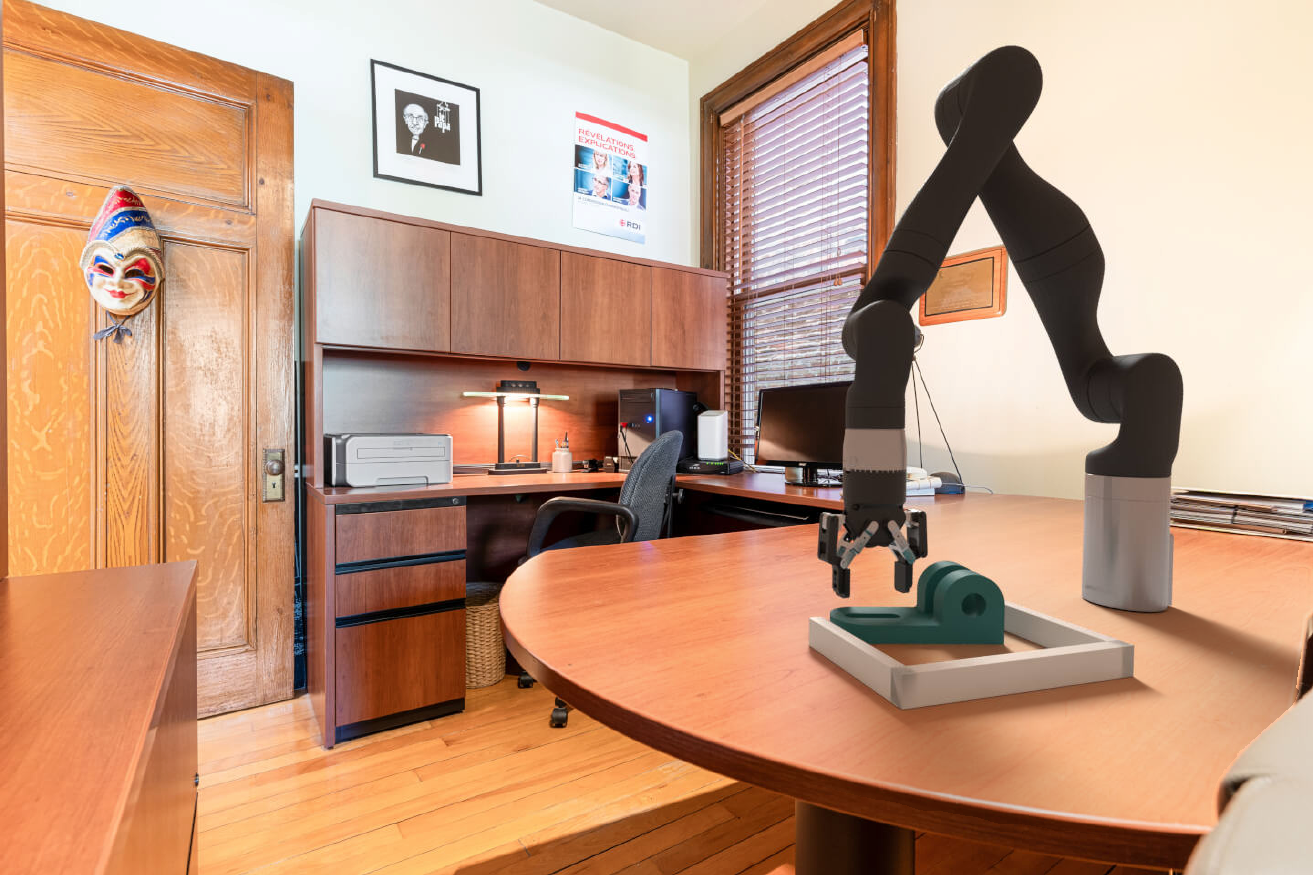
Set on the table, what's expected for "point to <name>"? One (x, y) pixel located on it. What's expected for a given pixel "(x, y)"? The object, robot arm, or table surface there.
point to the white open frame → (982, 662)
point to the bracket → (934, 612)
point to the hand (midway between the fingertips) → (872, 594)
